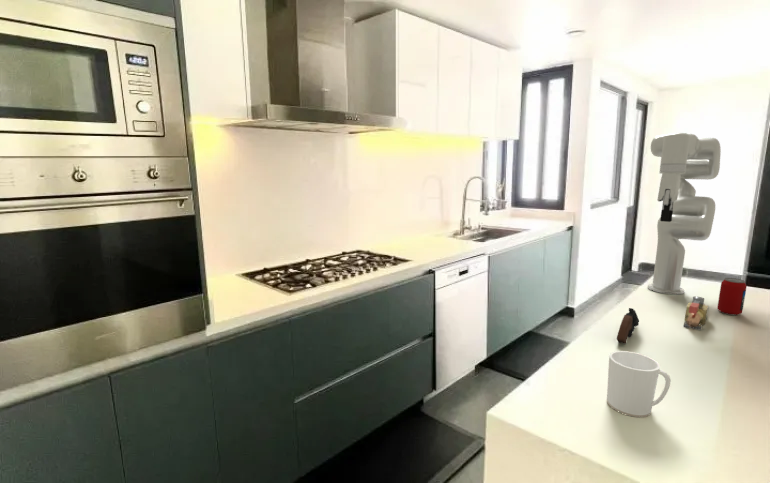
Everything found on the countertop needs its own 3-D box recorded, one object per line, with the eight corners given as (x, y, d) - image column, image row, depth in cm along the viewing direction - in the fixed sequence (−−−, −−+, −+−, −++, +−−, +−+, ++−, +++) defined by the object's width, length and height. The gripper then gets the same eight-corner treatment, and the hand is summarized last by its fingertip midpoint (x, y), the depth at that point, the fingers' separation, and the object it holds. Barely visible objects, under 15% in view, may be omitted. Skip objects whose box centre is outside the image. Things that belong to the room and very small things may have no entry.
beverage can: (747, 316, 139) (753, 282, 137) (727, 316, 139) (732, 282, 137) (731, 309, 146) (736, 277, 144) (711, 309, 146) (716, 277, 144)
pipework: (689, 310, 144) (691, 297, 143) (707, 314, 141) (710, 300, 140) (681, 327, 128) (683, 312, 127) (701, 332, 125) (704, 316, 124)
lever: (692, 303, 136) (693, 295, 135) (703, 305, 134) (704, 297, 133) (686, 312, 126) (687, 305, 126) (698, 315, 124) (699, 307, 124)
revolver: (613, 337, 115) (622, 300, 117) (623, 352, 127) (631, 318, 130) (626, 341, 112) (635, 302, 115) (635, 356, 125) (643, 320, 128)
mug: (598, 405, 85) (603, 360, 83) (612, 390, 91) (616, 347, 90) (659, 429, 77) (666, 379, 76) (670, 410, 84) (676, 364, 82)
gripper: (663, 169, 150) (657, 218, 154) (656, 169, 139) (649, 222, 143) (688, 169, 146) (681, 220, 149) (682, 169, 135) (675, 224, 138)
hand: (665, 221), depth 146 cm, fingers closed
